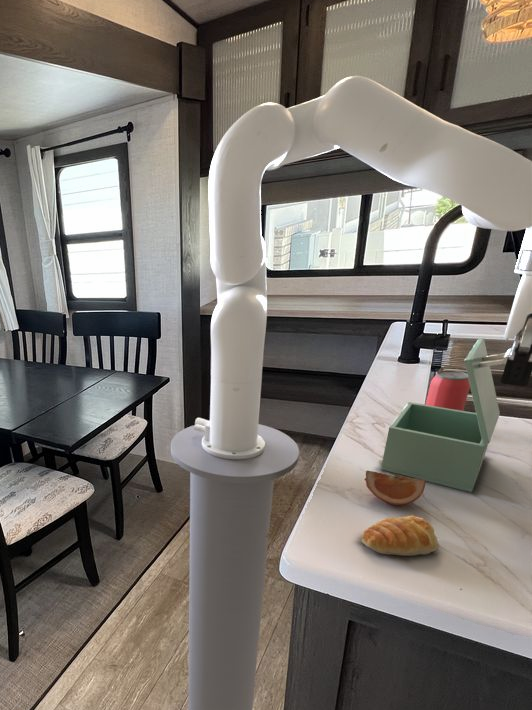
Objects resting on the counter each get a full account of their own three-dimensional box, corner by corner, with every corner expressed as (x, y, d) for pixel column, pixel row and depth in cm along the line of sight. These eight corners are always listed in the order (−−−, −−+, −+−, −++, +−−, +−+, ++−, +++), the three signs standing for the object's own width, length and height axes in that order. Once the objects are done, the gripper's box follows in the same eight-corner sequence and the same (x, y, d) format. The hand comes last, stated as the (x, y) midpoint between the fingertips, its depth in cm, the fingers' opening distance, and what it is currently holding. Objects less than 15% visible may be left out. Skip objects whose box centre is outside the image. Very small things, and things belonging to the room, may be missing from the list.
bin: (380, 469, 88) (389, 427, 85) (400, 440, 97) (408, 401, 94) (471, 492, 79) (485, 446, 76) (483, 458, 88) (496, 416, 85)
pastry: (381, 564, 66) (385, 542, 64) (349, 535, 72) (353, 515, 71) (441, 553, 67) (447, 531, 65) (405, 526, 73) (410, 505, 71)
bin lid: (464, 360, 74) (513, 352, 69) (478, 338, 83) (522, 330, 78) (482, 444, 76) (531, 441, 71) (494, 414, 85) (538, 410, 81)
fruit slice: (359, 502, 79) (364, 477, 77) (364, 484, 84) (368, 460, 82) (419, 516, 75) (425, 489, 73) (420, 495, 80) (426, 470, 78)
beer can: (420, 429, 101) (432, 377, 96) (421, 418, 106) (433, 367, 101) (459, 435, 97) (473, 380, 93) (458, 423, 102) (471, 371, 97)
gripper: (521, 255, 76) (492, 362, 84) (511, 269, 65) (478, 391, 73) (587, 254, 71) (549, 368, 79) (588, 270, 60) (543, 400, 68)
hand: (515, 378), depth 76 cm, fingers open, 5 cm apart
